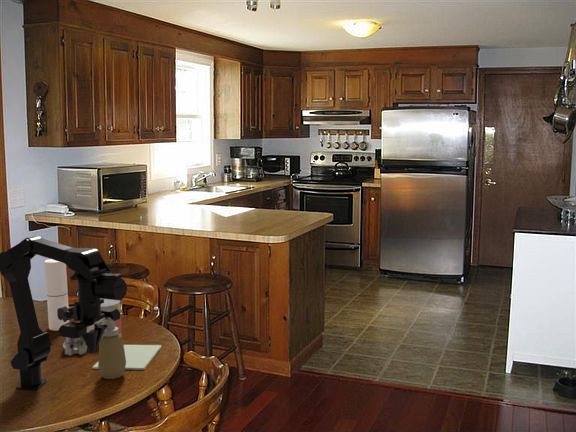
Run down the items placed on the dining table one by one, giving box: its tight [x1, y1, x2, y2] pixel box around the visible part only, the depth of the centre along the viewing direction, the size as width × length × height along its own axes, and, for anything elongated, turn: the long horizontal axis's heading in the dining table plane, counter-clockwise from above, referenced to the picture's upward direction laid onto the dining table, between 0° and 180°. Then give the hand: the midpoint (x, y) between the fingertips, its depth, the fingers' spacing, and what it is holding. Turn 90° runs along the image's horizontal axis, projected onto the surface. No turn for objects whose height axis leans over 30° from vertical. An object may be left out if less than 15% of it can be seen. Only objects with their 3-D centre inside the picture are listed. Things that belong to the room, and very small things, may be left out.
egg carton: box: [62, 337, 88, 356], centre depth 215 cm, size 11×8×4 cm
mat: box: [92, 344, 162, 371], centre depth 207 cm, size 20×16×1 cm
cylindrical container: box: [44, 258, 70, 331], centre depth 236 cm, size 7×7×25 cm
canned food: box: [101, 298, 123, 336], centre depth 228 cm, size 11×11×12 cm
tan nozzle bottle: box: [97, 317, 126, 380], centre depth 191 cm, size 8×8×18 cm
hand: (92, 352), depth 176 cm, fingers closed
